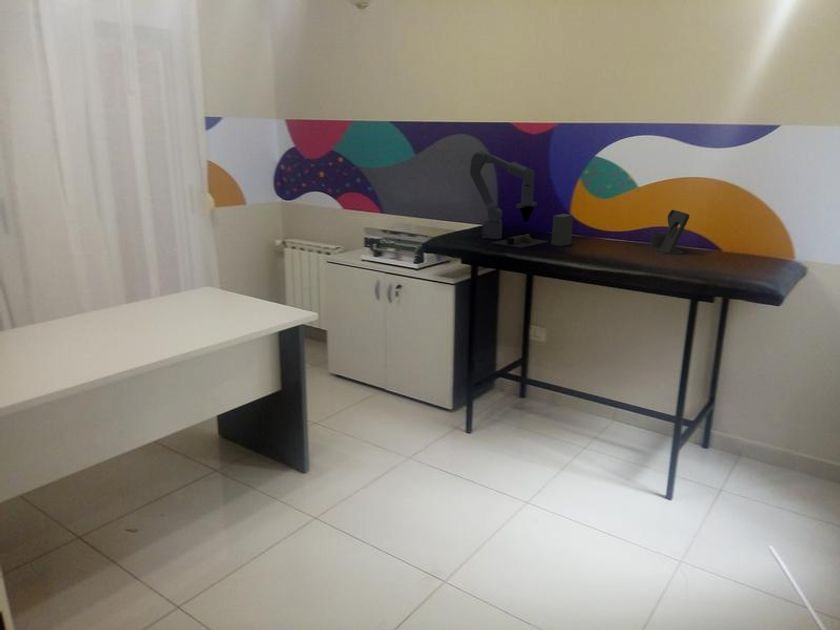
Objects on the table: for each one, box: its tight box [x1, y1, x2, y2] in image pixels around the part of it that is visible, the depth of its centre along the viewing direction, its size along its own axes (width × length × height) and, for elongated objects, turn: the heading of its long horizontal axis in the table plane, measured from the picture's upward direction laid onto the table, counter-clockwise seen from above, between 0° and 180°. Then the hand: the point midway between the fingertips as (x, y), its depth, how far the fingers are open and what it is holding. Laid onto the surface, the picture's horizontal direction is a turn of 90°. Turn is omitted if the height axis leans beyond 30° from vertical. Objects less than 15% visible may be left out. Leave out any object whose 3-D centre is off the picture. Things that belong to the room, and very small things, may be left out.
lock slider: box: [524, 236, 533, 242], centre depth 295 cm, size 2×3×2 cm
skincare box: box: [551, 213, 574, 247], centre depth 289 cm, size 8×6×15 cm
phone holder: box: [649, 209, 690, 255], centre depth 279 cm, size 17×10×18 cm, turn 3°
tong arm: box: [508, 234, 527, 245], centre depth 293 cm, size 1×13×3 cm, turn 136°
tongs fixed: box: [506, 233, 531, 245], centre depth 295 cm, size 3×16×3 cm, turn 135°
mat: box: [490, 238, 550, 249], centre depth 297 cm, size 18×24×1 cm
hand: (525, 221), depth 303 cm, fingers closed
